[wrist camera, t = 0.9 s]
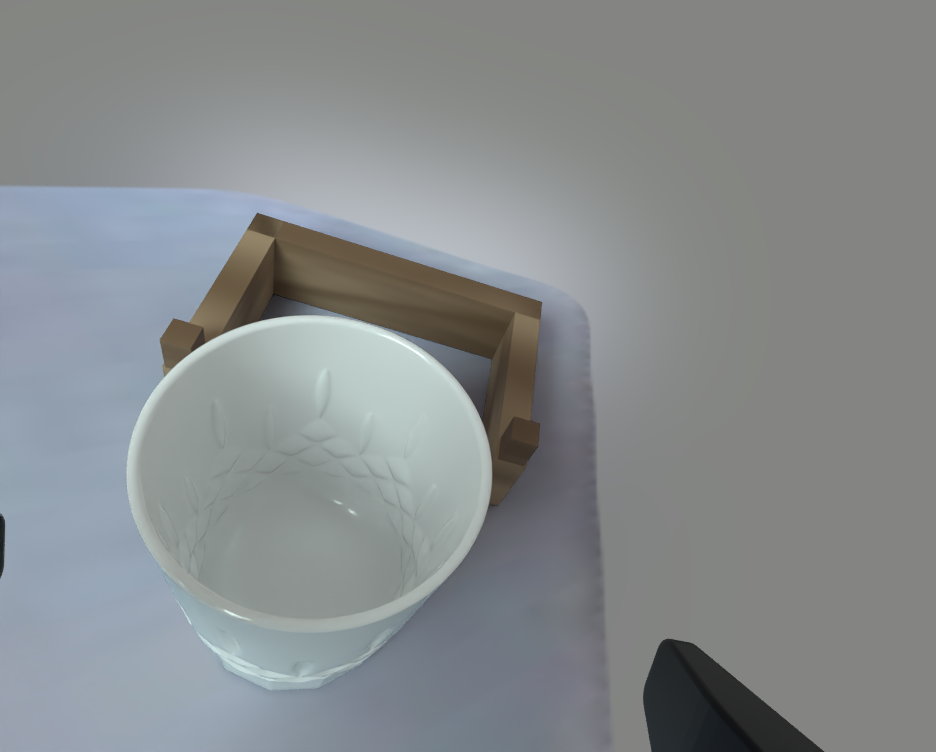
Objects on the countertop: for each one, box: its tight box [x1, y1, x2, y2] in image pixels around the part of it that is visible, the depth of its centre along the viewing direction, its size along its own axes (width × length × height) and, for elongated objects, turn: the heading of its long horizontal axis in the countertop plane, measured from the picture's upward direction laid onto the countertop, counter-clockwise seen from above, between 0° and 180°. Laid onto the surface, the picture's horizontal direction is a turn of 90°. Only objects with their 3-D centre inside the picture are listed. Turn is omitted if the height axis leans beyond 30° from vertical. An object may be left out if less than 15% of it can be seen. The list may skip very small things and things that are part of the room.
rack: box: [160, 213, 542, 506], centre depth 25 cm, size 9×13×5 cm
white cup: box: [127, 315, 492, 690], centre depth 17 cm, size 8×8×10 cm
